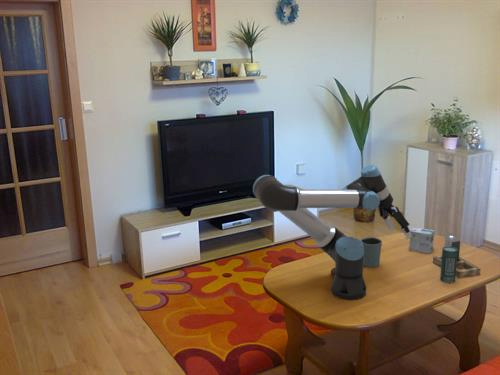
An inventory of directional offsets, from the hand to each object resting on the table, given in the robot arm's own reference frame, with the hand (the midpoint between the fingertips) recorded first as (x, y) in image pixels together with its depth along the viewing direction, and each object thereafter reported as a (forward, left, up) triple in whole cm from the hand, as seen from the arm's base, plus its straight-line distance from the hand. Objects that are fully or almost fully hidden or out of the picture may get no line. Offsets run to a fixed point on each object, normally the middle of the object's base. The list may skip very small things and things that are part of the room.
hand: (400, 233), depth 236 cm
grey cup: (-8, +12, -19) cm, 24 cm away
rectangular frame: (+26, -7, -19) cm, 33 cm away
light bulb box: (+25, +18, -19) cm, 36 cm away
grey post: (+26, -2, -19) cm, 33 cm away
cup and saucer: (-26, +5, -19) cm, 33 cm away
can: (+15, -16, -19) cm, 29 cm away
